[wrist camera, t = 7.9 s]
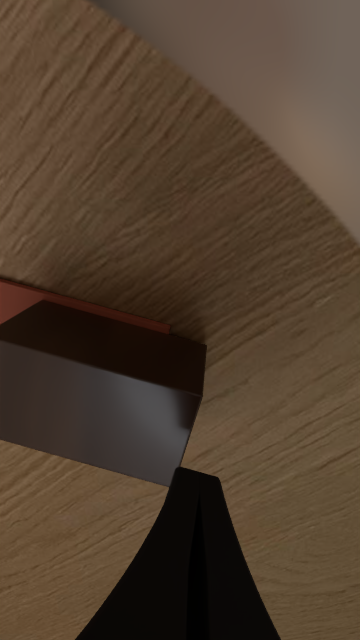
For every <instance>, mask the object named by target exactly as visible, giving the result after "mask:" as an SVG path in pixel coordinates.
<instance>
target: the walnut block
mask: <svg viewBox="0 0 360 640" xmlns="http://www.w3.org/2000/svg"><path fill="white" fill-rule="evenodd" d="M206 350H207V345H205V344H202V343H198V342H194V341H191V340H187V339H184V338H180V337H176V336H173V335H169V334H165V333H162V332H158V331H154V330H151V329H147V328H144V327H140V326H136V325H133V324H129V323H125V322H122V321H118V320H115V319H111V318H107V317H104V316H100V315H96V314H93V313H89V312H86V311H82V310H78V309H75V308H71V307H67V306H64V305H60V304H56V303H53V302H49V301H46V300H40V301H39V302H37V303H35V304H34V305H32V306H30V307H29V308H27V309H25V310H24V311H22V312H20V313H19V314H17V315H15V316H13V317H12V318H10V319H8V320H7V321H5V322H3V323H2V324H0V440H4V441H7V442H11V443H14V444H18V445H21V446H25V447H28V448H32V449H35V450H39V451H43V452H46V453H50V454H53V455H57V456H60V457H64V458H67V459H71V460H74V461H78V462H82V463H85V464H89V465H92V466H96V467H99V468H103V469H106V470H110V471H114V472H117V473H121V474H124V475H128V476H131V477H135V478H138V479H142V480H145V481H149V482H153V483H156V484H160V485H163V486H167V487H170V483H171V480H172V477H173V474H174V471H175V468H177V467H180V465H181V462H182V459H183V456H184V453H185V450H186V447H187V444H188V440H189V437H190V434H191V431H192V428H193V425H194V422H195V419H196V416H197V413H198V410H199V406H200V403H201V400H202V397H203V386H204V374H205V362H206Z"/></svg>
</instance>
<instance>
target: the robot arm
mask: <svg viewBox="0 0 360 640" xmlns="http://www.w3.org/2000/svg"><path fill="white" fill-rule="evenodd" d="M75 640H281V639H280V637H279V635H278V633H277V631H276V629H275V627H274V625H273V623H272V620H271V618H270V616H269V614H268V612H267V610H266V608H265V606H264V603H263V601H262V599H261V597H260V594H259V592H258V590H257V588H256V585H255V583H254V580H253V578H252V575H251V573H250V571H249V568H248V566H247V563H246V560H245V558H244V555H243V553H242V550H241V547H240V544H239V541H238V539H237V536H236V533H235V530H234V527H233V524H232V521H231V518H230V515H229V511H228V508H227V505H226V501H225V498H224V494H223V490H222V486H221V482H220V480H219V478H218V477H216V476H212V475H208V474H205V473H201V472H198V471H194V470H191V469H187V468H183V467H177V468H175V471H174V474H173V477H172V480H171V483H170V487H169V490H168V493H167V496H166V499H165V502H164V505H163V507H162V509H161V511H160V513H159V515H158V517H157V519H156V521H155V523H154V525H153V527H152V529H151V530H150V532H149V534H148V536H147V537H146V539H145V541H144V542H143V544H142V546H141V548H140V549H139V551H138V553H137V554H136V556H135V557H134V559H133V561H132V562H131V564H130V565H129V567H128V568H127V570H126V571H125V573H124V574H123V576H122V577H121V579H120V580H119V582H118V583H117V585H116V586H115V588H114V589H113V590H112V592H111V593H110V594H109V596H108V597H107V599H106V600H105V601H104V603H103V604H102V606H101V607H100V608H99V610H98V611H97V612H96V614H95V615H94V616H93V618H92V619H91V620H90V622H89V623H88V624H87V625H86V627H85V628H84V629H83V630H82V632H81V633H80V634H79V635H78V636H77V638H76V639H75Z"/></svg>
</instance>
